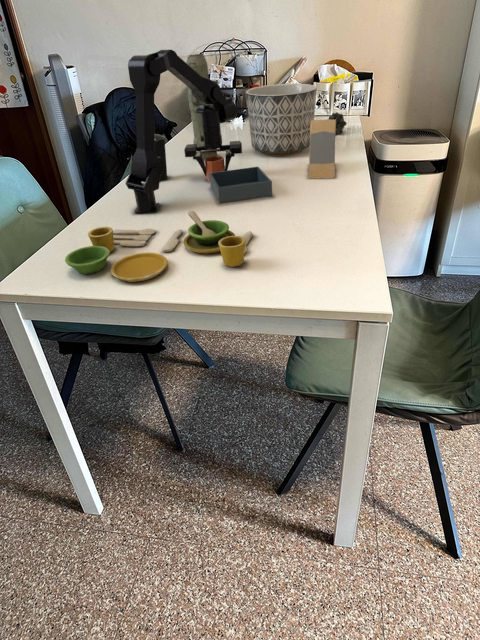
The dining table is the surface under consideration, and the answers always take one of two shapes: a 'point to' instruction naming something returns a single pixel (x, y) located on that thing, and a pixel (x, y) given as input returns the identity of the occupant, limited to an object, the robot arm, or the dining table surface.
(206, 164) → the coffee cup
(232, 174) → the tote
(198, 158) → the robot arm
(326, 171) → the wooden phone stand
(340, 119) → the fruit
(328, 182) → the dining table surface
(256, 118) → the planter
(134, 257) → the tableware set
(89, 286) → the dining table surface
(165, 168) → the drinking cup
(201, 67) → the thermos
